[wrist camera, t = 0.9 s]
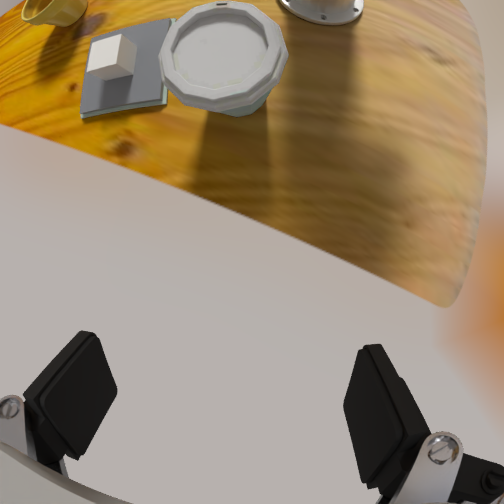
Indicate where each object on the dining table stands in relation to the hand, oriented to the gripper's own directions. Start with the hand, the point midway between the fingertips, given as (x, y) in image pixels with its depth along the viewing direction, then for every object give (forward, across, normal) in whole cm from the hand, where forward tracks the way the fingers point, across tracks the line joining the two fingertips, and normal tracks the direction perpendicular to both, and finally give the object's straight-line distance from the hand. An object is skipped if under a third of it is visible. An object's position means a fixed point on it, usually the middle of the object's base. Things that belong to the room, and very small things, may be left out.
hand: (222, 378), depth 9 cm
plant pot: (+28, +31, -39) cm, 57 cm away
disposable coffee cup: (+28, +2, -16) cm, 32 cm away
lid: (+27, +18, -23) cm, 40 cm away
